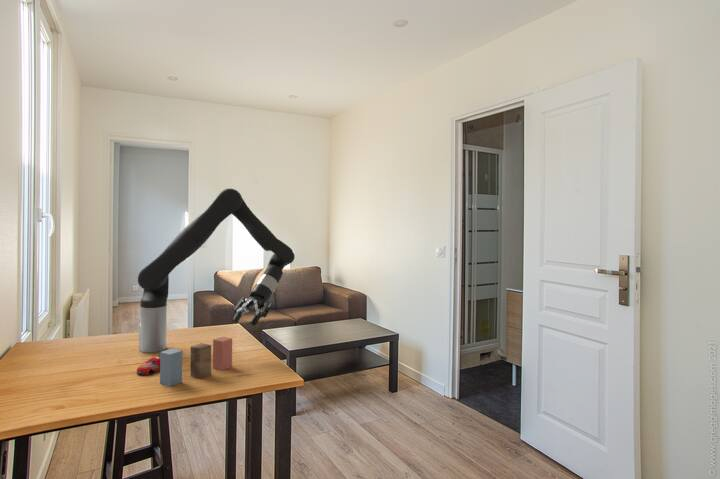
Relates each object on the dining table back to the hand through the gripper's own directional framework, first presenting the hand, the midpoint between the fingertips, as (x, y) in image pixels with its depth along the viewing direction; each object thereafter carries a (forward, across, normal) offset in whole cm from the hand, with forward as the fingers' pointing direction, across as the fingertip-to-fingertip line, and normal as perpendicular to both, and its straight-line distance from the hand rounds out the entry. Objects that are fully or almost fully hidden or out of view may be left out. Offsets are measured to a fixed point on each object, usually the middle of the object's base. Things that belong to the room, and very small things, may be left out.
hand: (243, 323), depth 156 cm
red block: (+17, 0, +2) cm, 17 cm away
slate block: (+30, -3, -11) cm, 32 cm away
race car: (+26, -18, -6) cm, 33 cm away
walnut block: (+23, 0, -4) cm, 24 cm away
